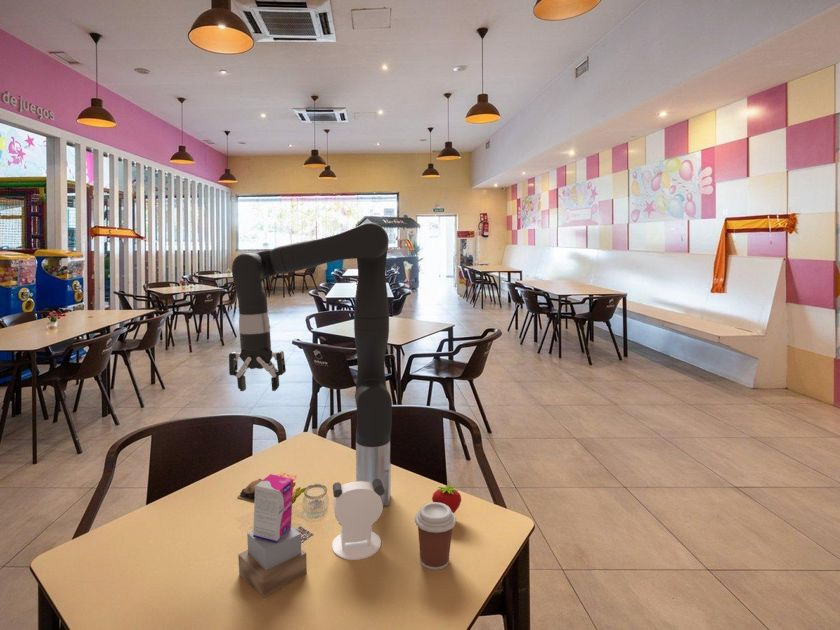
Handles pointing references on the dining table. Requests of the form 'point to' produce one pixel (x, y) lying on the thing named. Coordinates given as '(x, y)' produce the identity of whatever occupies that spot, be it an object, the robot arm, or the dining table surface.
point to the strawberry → (447, 497)
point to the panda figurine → (357, 518)
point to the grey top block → (274, 548)
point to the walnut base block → (271, 572)
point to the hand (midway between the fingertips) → (259, 390)
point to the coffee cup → (435, 534)
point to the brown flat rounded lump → (249, 491)
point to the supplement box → (272, 508)
